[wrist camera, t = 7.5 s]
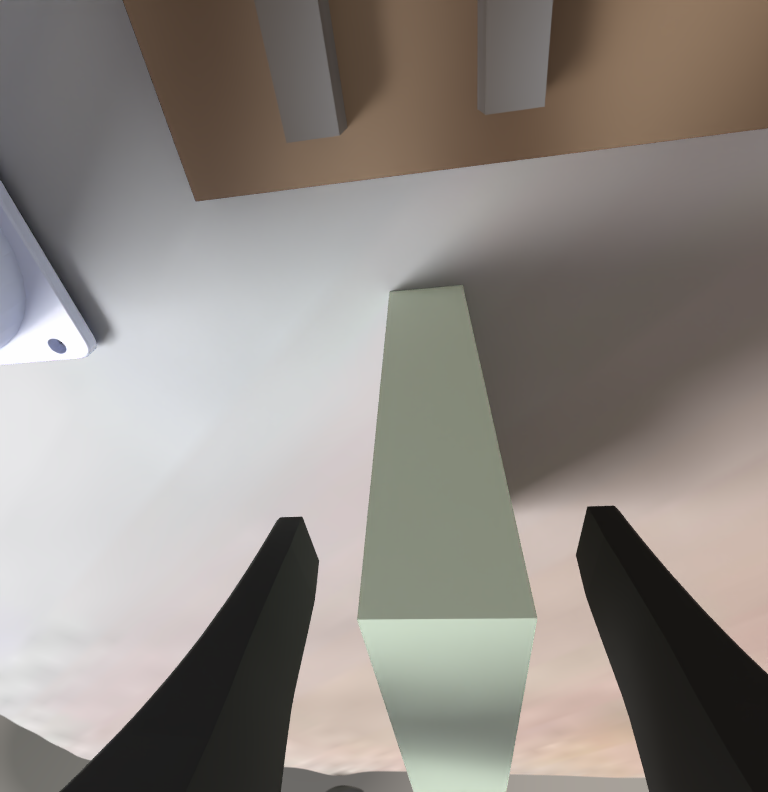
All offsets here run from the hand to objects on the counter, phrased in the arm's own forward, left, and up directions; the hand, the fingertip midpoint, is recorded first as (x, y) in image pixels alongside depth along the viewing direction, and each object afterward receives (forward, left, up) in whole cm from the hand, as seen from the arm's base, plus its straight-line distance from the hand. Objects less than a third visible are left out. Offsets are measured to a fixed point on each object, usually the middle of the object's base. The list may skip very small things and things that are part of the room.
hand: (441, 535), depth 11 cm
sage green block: (0, 0, -4) cm, 5 cm away
